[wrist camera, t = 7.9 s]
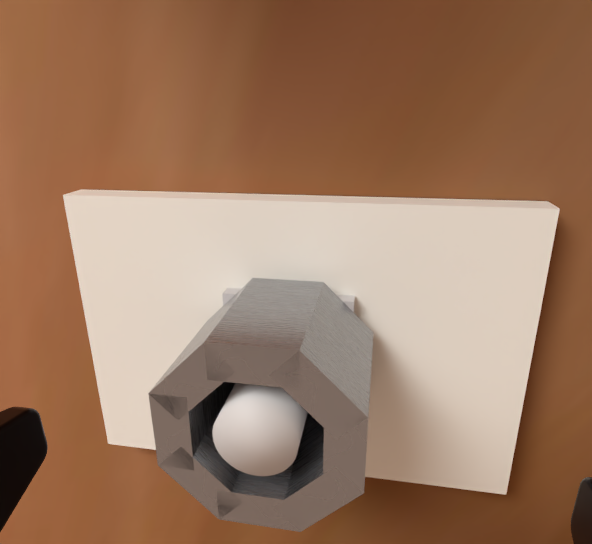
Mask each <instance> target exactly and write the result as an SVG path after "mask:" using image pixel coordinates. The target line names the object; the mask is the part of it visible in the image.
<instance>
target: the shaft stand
mask: <svg viewBox="0 0 592 544" xmlns="http://www.w3.org/2000/svg"><path fill="white" fill-rule="evenodd" d="M63 198H64V204H65V209H66V215H67V220H68V226H69V231H70V236H71V242H72V247H73V253H74V258H75V264H76V269H77V275H78V280H79V286H80V291H81V297H82V302H83V308H84V313H85V319H86V324H87V330H88V335H89V341H90V346H91V352H92V357H93V363H94V368H95V374H96V379H97V384H98V390H99V395H100V401H101V406H102V412H103V417H104V423H105V428H106V434H107V439H108V444H114V445H122V446H130V447H138V448H145V449H153V450H156V446H155V439H154V432H153V424H152V417H151V410H150V402H149V395H148V393H149V392H150V391H151V389H152V388H153V387H154V386H155V385H156V383H157V382H158V381H159V380H160V378H161V377H162V376H163V375H164V374H165V372H166V371H167V370H168V369H169V367H170V366H171V365H172V364H173V362H174V361H175V360H176V359H177V358H178V356H179V355H180V354H181V353H182V351H183V350H184V349H185V348H186V346H187V345H188V344H189V343H190V342H191V340H192V339H193V338H194V337H195V335H196V334H197V333H198V332H199V330H200V329H201V328H202V327H203V326H204V324H205V323H206V322H207V321H208V320H209V319H210V318H211V317H212V316H213V315H214V314H215V313H216V312H217V311H218V310H219V309H220V308H221V307H222V306H223V305H225V304H226V303H227V302H228V301H229V300H230V299H231V298H232V297H233V296H234V295H235V294H236V293H237V292H238V291H239V290H240V289H241V288H243V287H244V286H245V285H246V284H247V283H248V282H249V281H250V280H251V279H252V278H265V279H281V280H298V281H314V282H324V283H325V284H326V285H327V286H328V287H329V288H330V289H331V290H332V291H333V292H334V293H335V294H336V295H337V296H338V297H339V298H340V299H341V300H342V301H343V302H344V303H345V304H346V305H347V306H348V307H349V308H350V309H351V310H352V311H353V312H354V313H355V314H356V315H357V316H358V317H359V318H360V319H361V320H362V321H363V322H364V323H365V324H366V325H367V326H368V327H369V328H370V329H371V330H372V331H373V332H374V333H373V350H372V367H371V385H370V403H369V420H368V436H367V452H366V469H365V477H372V478H379V479H387V480H395V481H403V482H411V483H418V484H426V485H434V486H442V487H450V488H457V489H465V490H473V491H481V492H489V493H496V494H504V495H506V493H507V488H508V482H509V477H510V472H511V466H512V461H513V456H514V450H515V445H516V440H517V434H518V429H519V424H520V418H521V413H522V408H523V402H524V397H525V392H526V386H527V381H528V376H529V370H530V365H531V360H532V354H533V349H534V344H535V338H536V333H537V327H538V322H539V317H540V311H541V306H542V301H543V295H544V290H545V285H546V279H547V274H548V269H549V263H550V258H551V253H552V247H553V242H554V237H555V231H556V226H557V221H558V215H559V210H560V209H559V208H558V207H556V206H555V205H553V204H551V203H550V202H548V201H514V200H475V199H436V198H396V197H357V196H318V195H278V194H239V193H199V192H160V191H121V190H78V191H75V192H71V193H68V194H65V195H63ZM307 413H308V412H307V411H306V410H305V409H304V408H303V407H302V406H301V405H300V404H299V403H298V402H297V401H295V400H294V399H293V398H292V397H291V396H290V395H289V394H288V393H287V392H286V391H285V390H284V389H283V388H282V387H272V386H262V385H252V384H242V383H235V385H234V387H233V389H232V391H231V393H230V394H229V396H228V398H227V400H226V402H225V404H224V406H223V408H222V409H221V411H220V413H219V415H218V417H217V419H216V421H215V423H214V426H213V431H212V432H213V441H214V444H215V447H216V449H217V451H218V452H219V454H220V455H221V457H222V458H223V459H224V460H225V461H226V462H227V463H228V464H230V465H231V466H232V467H234V468H235V469H237V470H239V471H241V472H244V473H247V474H250V475H255V476H271V475H275V474H278V473H281V472H283V471H284V470H286V469H287V468H288V467H290V465H291V464H292V463H293V462H294V460H295V458H296V456H297V452H298V448H299V444H300V440H301V437H302V433H303V429H304V425H305V421H306V417H307Z"/></svg>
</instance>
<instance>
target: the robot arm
mask: <svg viewBox="0 0 592 544" xmlns="http://www.w3.org/2000/svg"><path fill="white" fill-rule="evenodd" d="M46 454H47V441H46V437H45V433H44V429H43V425H42V422H41V418H40V415H39V413H38V412H37V411H36V410H35V409H32V408H24V407H11V408H8V409H6V410H4V411H1V412H0V532H1V530H2V528H3V527H4V525H5V524H6V522H7V520H8V519H9V517H10V515H11V514H12V512H13V510H14V509H15V507H16V505H17V504H18V502H19V500H20V499H21V497H22V495H23V494H24V492H25V490H26V489H27V487H28V486H29V484H30V482H31V481H32V479H33V477H34V476H35V474H36V472H37V471H38V469H39V467H40V466H41V464H42V462H43V461H44V459H45V456H46ZM571 533H572V538H573V542H574V544H592V477H587V478H584V479H583V480H582V481H581V483H580V486H579V490H578V494H577V498H576V502H575V506H574V510H573V513H572V518H571Z"/></svg>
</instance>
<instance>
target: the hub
mask: <svg viewBox="0 0 592 544" xmlns="http://www.w3.org/2000/svg"><path fill="white" fill-rule="evenodd" d="M373 333H374V332H373V331H372V330H371V329H370V328H369V327H368V326H367V325H366V324H365V323H364V322H363V321H362V320H361V319H360V318H359V317H358V316H357V315H356V314H355V313H354V312H353V311H352V310H351V309H350V308H349V307H348V306H347V305H346V304H345V303H344V302H343V301H342V300H341V299H340V298H339V297H338V296H337V295H336V294H335V293H334V292H333V291H332V290H331V289H330V288H329V287H328V286H327V285H326V284H325V283H324V282H314V281H298V280H281V279H265V278H252V279H251V280H250V281H249V282H248V283H247V284H246V285H245V286H244V287H243V288H241V289H240V290H239V291H238V292H237V293H236V294H235V295H234V296H233V297H232V298H231V299H230V300H229V301H228V302H227V303H226V304H225V305H223V306H222V307H221V308H220V309H219V310H218V311H217V312H216V313H215V314H214V315H213V316H212V317H211V318H210V319H209V320H208V321H207V322H206V323H205V324H204V326H203V327H202V328H201V329H200V330H199V332H198V333H197V334H196V335H195V337H194V338H193V339H192V340H191V342H190V343H189V344H188V345H187V346H186V348H185V349H184V350H183V351H182V353H181V354H180V355H179V356H178V358H177V359H176V360H175V361H174V362H173V364H172V365H171V366H170V367H169V369H168V370H167V371H166V372H165V374H164V375H163V376H162V377H161V378H160V380H159V381H158V382H157V383H156V385H155V386H154V387H153V388H152V389H151V391H150V392H149V393H148V395H149V402H150V410H151V417H152V424H153V432H154V439H155V446H156V453H157V461H158V466H160V467H161V468H162V469H163V470H164V471H165V472H166V473H167V474H169V475H170V476H171V477H172V478H173V479H174V480H175V481H176V482H178V483H179V484H180V485H181V486H182V487H183V488H184V489H185V490H187V491H188V492H189V493H190V494H191V495H192V496H193V497H194V498H196V499H197V500H198V501H199V502H200V503H201V504H202V505H203V506H205V507H206V508H207V509H208V510H209V511H210V512H211V513H213V514H214V515H215V516H216V517H217V518H218V519H221V520H227V521H233V522H240V523H246V524H253V525H259V526H266V527H272V528H279V529H285V530H292V531H298V532H301V531H303V530H304V529H306V528H308V527H309V526H311V525H313V524H314V523H316V522H317V521H319V520H321V519H322V518H324V517H326V516H327V515H329V514H331V513H332V512H334V511H336V510H337V509H339V508H341V507H342V506H344V505H346V504H347V503H349V502H351V501H352V500H354V499H355V498H357V497H359V496H360V495H362V494H364V485H365V469H366V452H367V436H368V420H369V403H370V385H371V367H372V350H373ZM235 383H242V384H252V385H262V386H272V387H282V388H283V389H284V390H285V391H286V392H287V393H288V394H289V395H290V396H291V397H292V398H293V399H294V400H295V401H297V402H298V403H299V404H300V405H301V406H302V407H303V408H304V409H305V410H306V411H307V412H308V413H307V417H306V421H305V425H304V429H303V433H302V437H301V440H300V444H299V448H298V452H297V456H296V458H295V460H294V462H293V463H292V464H291V465H290V467H288V468H287V469H286V470H284V471H283V472H281V473H278V474H275V475H271V476H255V475H250V474H247V473H244V472H241V471H239V470H237V469H235V468H234V467H232V466H231V465H230V464H228V463H227V462H226V461H225V460H224V459H223V458H222V457H221V455H220V454H219V452H218V451H217V449H216V447H215V444H214V441H213V432H212V431H213V426H214V423H215V421H216V419H217V417H218V415H219V413H220V411H221V409H222V408H223V406H224V404H225V402H226V400H227V398H228V396H229V394H230V393H231V391H232V389H233V387H234V385H235Z"/></svg>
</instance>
